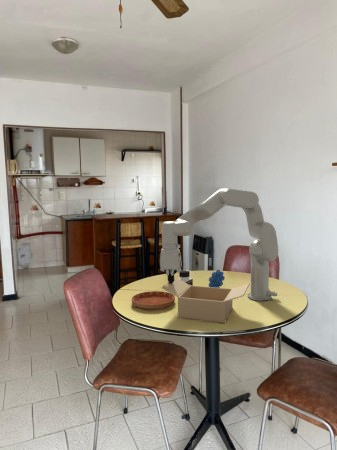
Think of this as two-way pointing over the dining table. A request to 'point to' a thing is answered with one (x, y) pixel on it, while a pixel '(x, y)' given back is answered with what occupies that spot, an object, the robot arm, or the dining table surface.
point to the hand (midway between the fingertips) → (171, 282)
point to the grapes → (216, 279)
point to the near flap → (237, 292)
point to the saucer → (153, 300)
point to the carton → (204, 304)
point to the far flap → (176, 287)
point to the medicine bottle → (185, 277)
